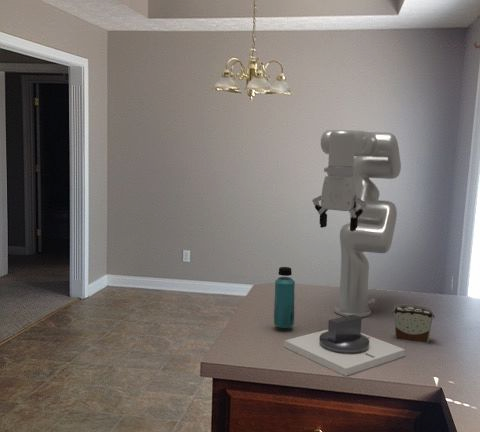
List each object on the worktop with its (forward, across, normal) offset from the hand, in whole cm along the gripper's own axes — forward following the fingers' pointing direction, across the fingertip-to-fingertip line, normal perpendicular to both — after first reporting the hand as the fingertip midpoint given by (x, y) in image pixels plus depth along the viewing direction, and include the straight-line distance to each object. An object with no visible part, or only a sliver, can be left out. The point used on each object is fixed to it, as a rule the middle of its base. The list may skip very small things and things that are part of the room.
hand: (338, 228), depth 171 cm
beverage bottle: (+34, -15, -5) cm, 37 cm away
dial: (+31, +8, -12) cm, 34 cm away
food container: (+34, +21, +11) cm, 41 cm away
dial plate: (+33, +8, -12) cm, 36 cm away
